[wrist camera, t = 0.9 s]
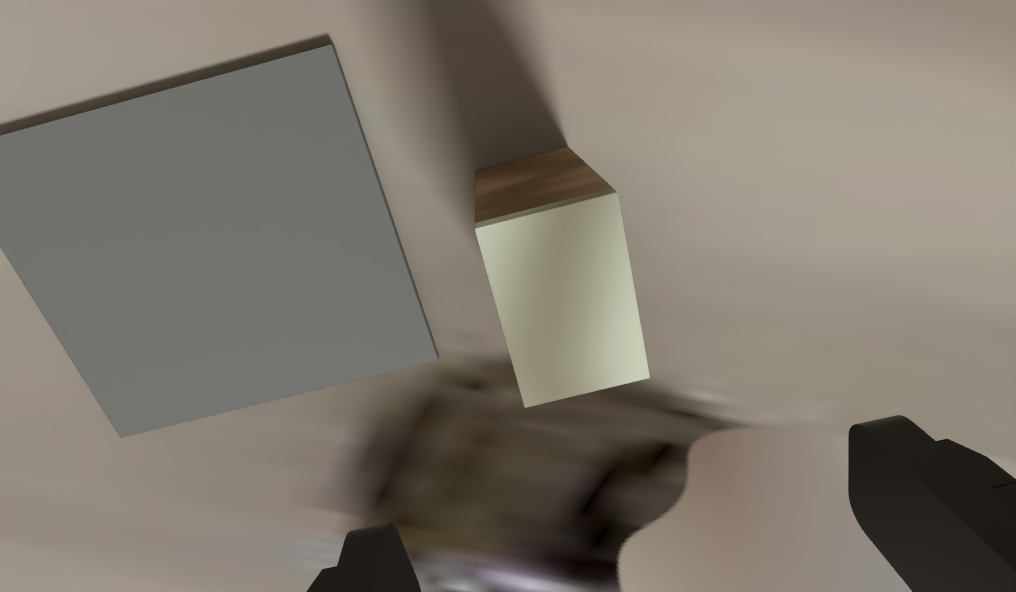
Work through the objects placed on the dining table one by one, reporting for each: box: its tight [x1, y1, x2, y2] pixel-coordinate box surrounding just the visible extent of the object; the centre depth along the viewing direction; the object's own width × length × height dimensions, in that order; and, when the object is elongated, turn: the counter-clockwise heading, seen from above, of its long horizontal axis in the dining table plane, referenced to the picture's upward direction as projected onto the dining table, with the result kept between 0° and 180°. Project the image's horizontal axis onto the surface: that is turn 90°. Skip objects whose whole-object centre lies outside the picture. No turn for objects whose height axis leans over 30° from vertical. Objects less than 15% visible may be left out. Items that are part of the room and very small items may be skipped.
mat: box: [0, 44, 439, 438], centre depth 25 cm, size 16×14×1 cm
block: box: [475, 147, 650, 408], centre depth 21 cm, size 4×6×9 cm, turn 14°
